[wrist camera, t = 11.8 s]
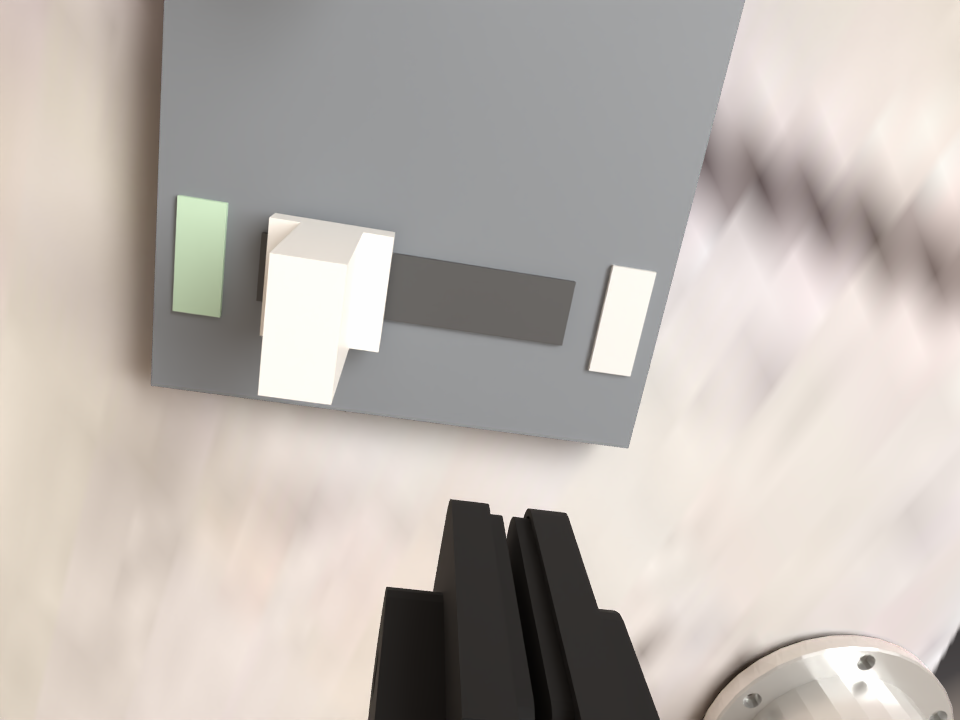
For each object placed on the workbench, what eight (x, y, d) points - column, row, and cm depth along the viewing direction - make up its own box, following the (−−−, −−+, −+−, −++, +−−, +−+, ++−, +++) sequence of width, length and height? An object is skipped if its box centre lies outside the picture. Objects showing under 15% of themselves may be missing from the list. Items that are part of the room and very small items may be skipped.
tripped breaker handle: (380, 343, 26) (367, 409, 21) (265, 326, 26) (220, 390, 20) (395, 232, 25) (385, 270, 20) (275, 212, 25) (230, 246, 19)
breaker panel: (616, 427, 31) (629, 450, 29) (169, 366, 29) (149, 387, 27) (790, -265, 23) (826, -300, 21) (201, -416, 21) (177, -471, 19)
